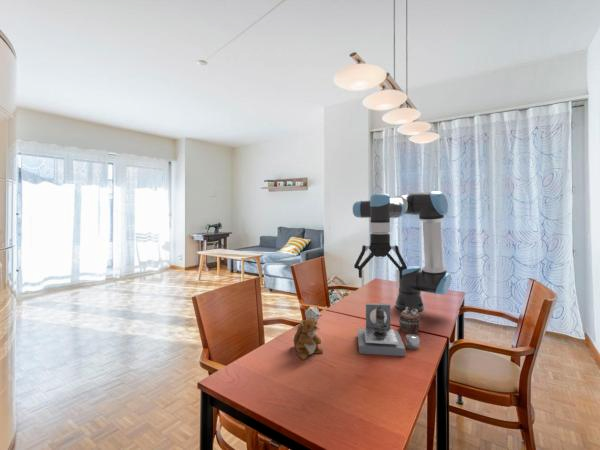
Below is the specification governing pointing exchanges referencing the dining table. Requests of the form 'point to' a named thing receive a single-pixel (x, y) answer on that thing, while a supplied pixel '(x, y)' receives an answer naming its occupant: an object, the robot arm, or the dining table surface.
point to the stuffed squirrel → (307, 339)
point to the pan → (382, 340)
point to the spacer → (412, 341)
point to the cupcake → (410, 320)
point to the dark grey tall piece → (380, 323)
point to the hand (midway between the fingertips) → (380, 286)
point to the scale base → (370, 320)
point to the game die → (312, 313)
